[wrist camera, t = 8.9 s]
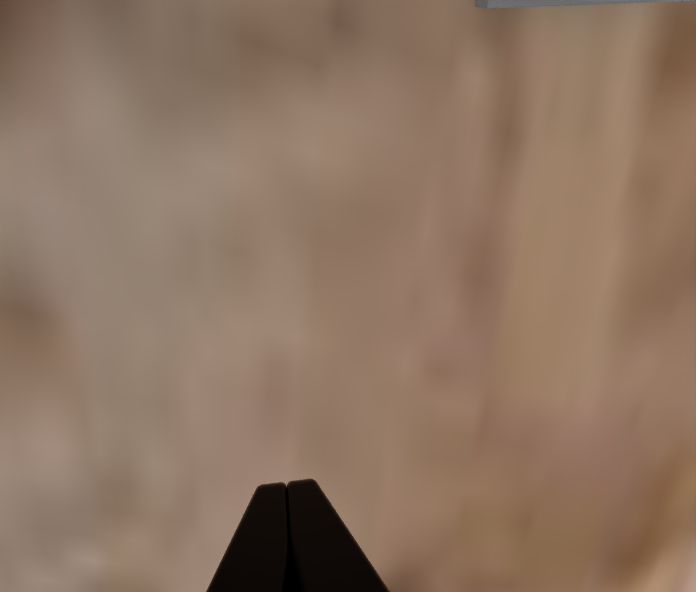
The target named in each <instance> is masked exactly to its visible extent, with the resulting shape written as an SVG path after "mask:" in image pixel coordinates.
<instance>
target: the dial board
mask: <svg viewBox="0 0 696 592" xmlns="http://www.w3.org/2000/svg"><path fill="white" fill-rule="evenodd" d="M676 1H696V0H476V7H481V8H512V7H539V6H567V5H594V4H621V3H649V2H676Z"/></svg>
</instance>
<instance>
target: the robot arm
mask: <svg viewBox="0 0 696 592" xmlns="http://www.w3.org/2000/svg"><path fill="white" fill-rule="evenodd" d="M206 592H390V591H389V590H388V588H387V587H386V585H385V584H384V582H383V581H382V579H381V578H380V576H379V575H378V573H377V572H376V570H375V569H374V567H373V566H372V564H371V563H370V561H369V560H368V558H367V557H366V555H365V554H364V552H363V551H362V549H361V548H360V546H359V545H358V543H357V542H356V540H355V539H354V537H353V536H352V534H351V533H350V531H349V530H348V528H347V527H346V525H345V524H344V522H343V521H342V519H341V518H340V516H339V515H338V513H337V512H336V510H335V509H334V508H333V506H332V505H331V503H330V502H329V500H328V499H327V497H326V496H325V494H324V493H323V491H322V490H321V488H320V487H319V485H318V484H317V482H316V481H315V480H313V479H304V480H296V481H290V482H289V483H288V484H287V487H286V485H285V483H283V482H279V483H271V484H262V485H260V486H258V487H257V489H256V490H255V492H254V494H253V496H252V498H251V500H250V503H249V505H248V507H247V509H246V511H245V513H244V515H243V517H242V519H241V521H240V523H239V525H238V527H237V529H236V531H235V533H234V535H233V538H232V540H231V542H230V544H229V546H228V548H227V550H226V552H225V554H224V556H223V558H222V560H221V562H220V564H219V566H218V568H217V571H216V573H215V575H214V577H213V579H212V581H211V583H210V585H209V587H208V589H207V591H206Z"/></svg>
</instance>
